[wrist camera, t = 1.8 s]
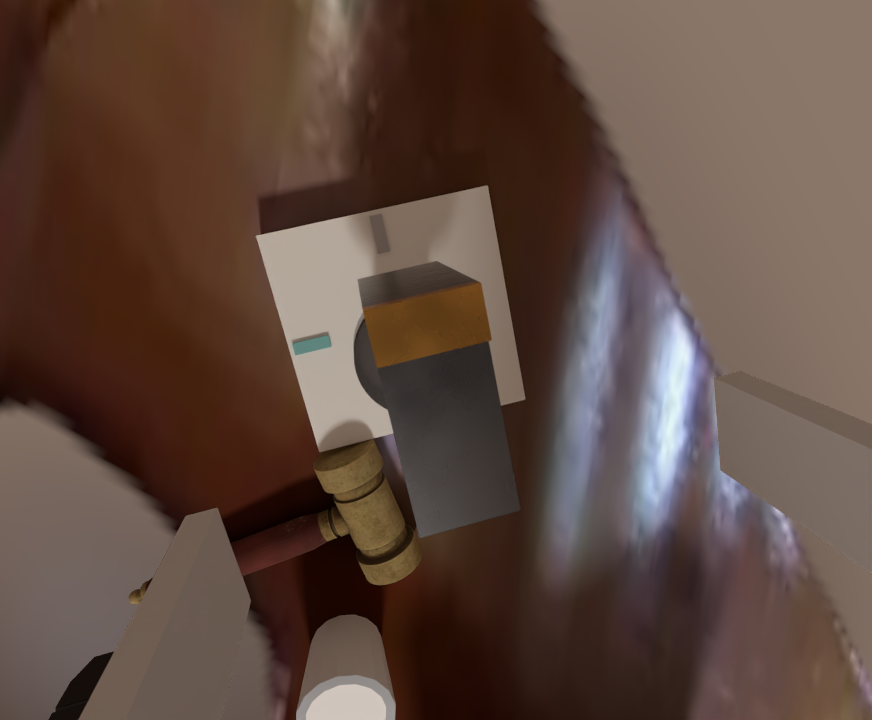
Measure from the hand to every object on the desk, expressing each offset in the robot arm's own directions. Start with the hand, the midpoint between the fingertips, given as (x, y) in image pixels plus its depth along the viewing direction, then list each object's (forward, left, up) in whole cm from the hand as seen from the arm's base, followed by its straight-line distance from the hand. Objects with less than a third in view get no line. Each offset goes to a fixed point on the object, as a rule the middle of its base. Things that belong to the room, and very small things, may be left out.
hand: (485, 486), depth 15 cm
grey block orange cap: (0, 0, -18) cm, 18 cm away
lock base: (0, 0, -26) cm, 26 cm away
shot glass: (-25, +10, -27) cm, 38 cm away
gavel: (-14, +13, -27) cm, 33 cm away
